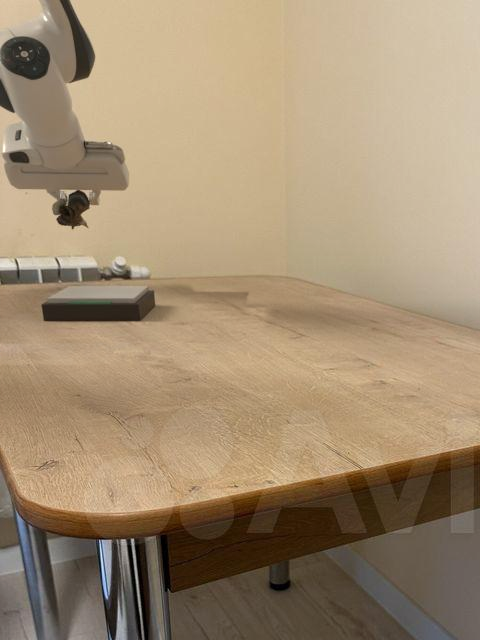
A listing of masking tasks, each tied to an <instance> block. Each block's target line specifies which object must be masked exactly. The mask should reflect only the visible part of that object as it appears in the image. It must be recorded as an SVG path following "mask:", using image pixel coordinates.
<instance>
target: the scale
mask: <svg viewBox="0 0 480 640" xmlns="http://www.w3.org/2000/svg"><path fill="white" fill-rule="evenodd" d="M149 288H150V287H149V285H69V286H67V287H65V288H63V289H62V290H59V291H57V292H56V293H54V294H52V295H50V296H48V297H47V298H46V301H45V302H43V303H41V311H42V317H43V318H42V319H43V321H44V322H51V321H52V322H53V321H55V322H56V321H57V322H59V321H60V322H61V321H67V322H68V321H69V322H70V321H71V322H73V321H77V322H78V321H79V322H80V321H81V322H82V321H84V322H88V321H93V322H94V321H95V322H96V321H97V322H99V321H101V322H102V321H103V322H105V321H106V322H107V321H108V322H109V321H114V322H115V321H117V322H118V321H122V322H123V321H141V320H142V319H143V318H145V316H146V315H147V314H148V313H149V312H150V311H151V310H152V309H154V307H155V306H156V298H155V290H153V289H152V290H151V289H149Z"/></svg>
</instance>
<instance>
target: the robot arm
mask: <svg viewBox="0 0 480 640" xmlns="http://www.w3.org/2000/svg"><path fill="white" fill-rule="evenodd" d="M38 1H39V3H40V5H41V7H42V10H41V11H40V13H39V14H38V15H36V16H35V17H33V18H31V19H28V20H24V21H23V22H19V23H17V24H14V25H12V26H9V27H4V28H2V29H0V107H1V108H3V109H4V110H6V111H7V112H9V113H12V114H16V116H17V117H18V118H19V119H20V121H19V122H15V123H11V124H8V125H6V127H5V129H4V133H3V137H2V142H1V155H2V159H3V160H4V161H3V166H4V167H3V168H4V172H5V175H6V178H7V180H8V182H9V184H10V186H12V187H14V188H15V189H17V190H46V193H47V194H49V195H50V196H51V197H53V198H54V199H55V200H56V202H57V201H58V200H61V199H62V200H63V201H64V202H65V204H66V206H67V205H68V197H69V196H68V195H67V192H66V191H76V190H80V191H89V193H88V200H89V201H90V206H100V202H101V201H100V200H101V199H100V195H101V193H102V191H115V192H116V191H117V192H118V191H119V192H120V191H121V192H122V191H126V190H127V188H129V185H130V171H129V169H128V167H127V164H126V157H125V153H124V150H123V148H122V147H121V146H119V145H116V144H114V143H113V142H111V141H103V142H102V141H93V140H90V141H89V140H88V141H86V140H85V137H84V134H83V131H82V128H81V125H80V121H79V119H78V117H77V115H76V113H75V112H74V110H73V101H72V97H71V93H70V91H69V89H68V84H71V83H76V82H79V81H82V80H86V79H89V78H90V75H91V74H92V71H93V68H94V65H95V62H96V54H95V53H96V52H95V51H94V50H95V49H94V46H93V43H92V41H91V39H90V35H89V34H88V33H87V31H86V29H85V27H84V26H83V25H82V23H81V21H80V19H79V17H78V15H77V12H76V11H75V8H74V6H73V5H72V2H71V0H38Z"/></svg>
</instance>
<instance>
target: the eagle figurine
mask: <svg viewBox="0 0 480 640" xmlns="http://www.w3.org/2000/svg"><path fill="white" fill-rule="evenodd" d="M67 197H68V205H66V204H65V202H64V201H63V200H62V199H61V200H58V201H57V200H56V201H55V202H53V204H52V207H51V210H52V214H53V215H54V216H57V217H56V219H55V221H56V222H57V224H58V225H60V226H61V227H63V226H64V227H66V226H67V227H71V230H72V231H73V230H74V229H75V227H81V226H83V227H86V228H87V229H89V228H90V227H89V226H88V223H87V221H86V220H85V219H84V218H83V216H82V214H83V213H85V212H86V211H88V210H90V208H91V207H90V206H91V204H90V201H89V196H88V195H87V194H86V192H84V191H83V190H74V191H73V192H71V193H69V194H68V196H67Z"/></svg>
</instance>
